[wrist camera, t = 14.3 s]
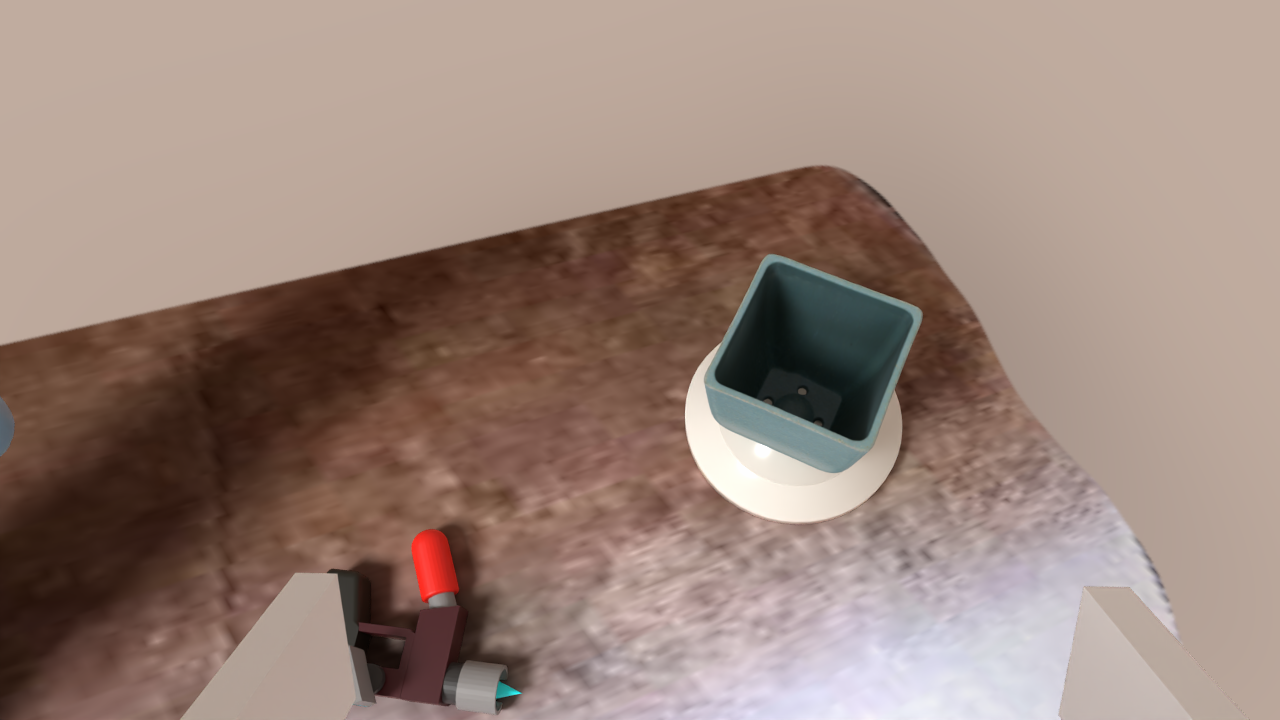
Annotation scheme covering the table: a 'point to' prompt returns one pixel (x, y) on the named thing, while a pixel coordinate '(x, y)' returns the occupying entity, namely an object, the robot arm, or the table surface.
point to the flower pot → (810, 364)
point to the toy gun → (421, 640)
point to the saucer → (782, 466)
